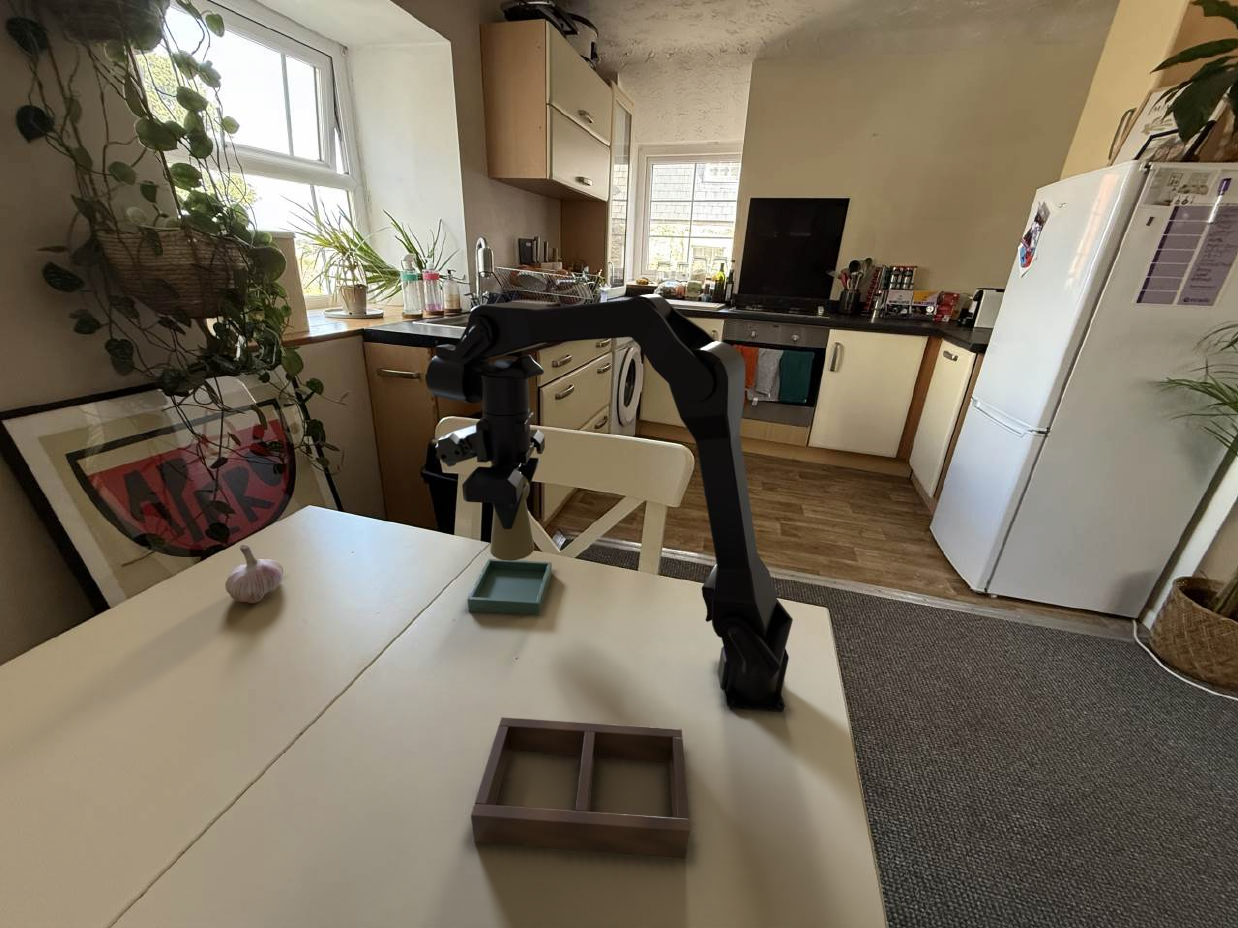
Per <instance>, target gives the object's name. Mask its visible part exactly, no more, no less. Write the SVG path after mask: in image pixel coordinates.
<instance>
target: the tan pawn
mask: <svg viewBox="0 0 1238 928" xmlns="http://www.w3.org/2000/svg"><path fill="white" fill-rule="evenodd" d="M523 484H527V487H526V490H525V493H524V496H523V498H522V501H521V504H520V507H519V510H518V512H517V515H516V518H515V521H514V523H513V526H512V528H511V529H503V527H502V525H501V523H500V520H499V518H498V516H497V513H496V511H495V509H494V508H493V511H492V513H493V515H492V525H491V538H490V554H491V555H492V557H494V558H495V559H500V560H508V561H512V560H518V561H520V560H522V559H526V558H527V557H529V556H530V555H531V554H532V553H534V551H535V543H534V537H533V532H532V526H531V521H530V514H529V510H528V504H527V499H528V497H529V496H530V495H529V494H530V486H531V485H530V486H529V483H528V480H527V479H526V477H525V476H524V475H523Z"/></svg>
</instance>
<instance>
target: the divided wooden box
mask: <svg viewBox="0 0 1238 928" xmlns="http://www.w3.org/2000/svg"><path fill="white" fill-rule="evenodd" d="M683 739H684V738H683V730H682V728H673V727H672V728H671V727H656V726H639V725H625V724H609V723H595V722H577V721H565V720H564V721H563V720H548V719H532V718H518V717H517V718H516V717H502V716H501V717H500V720H499V723H498V727H497V729H496V733H495V736H494V740H493V742H492V746H491V749H490V753H489V756H488V758H487V762H486V765H485V769H484V771H483V775H482V779H481V782H480V784H479V788H478V791H477V795H476V797H475V801H474V805H473V807H472V810H471V814H470V818H471V819H470V820H471V827H472V835H473V842H474V843H479V844H480V843H482V844H496V845H509V846H523V847H535V848H537V847H538V848H550V849H564V850H565V849H566V850H579V851H592V852H607V853H619V854H620V853H623V854H634V855H649V856H660V857H661V856H662V857H677V858H687V855H688V850H689V849H688V848H689V841H690V834H691V825H690V815H689V814H690V813H689V812H690V811H689V801H688V789H687V787H688V786H687V776H686V765H685V752H684V740H683ZM511 752H520V753H521V752H522V753H533V754H534V753H535V754H537V753H538V754H550V755H551V754H552V755H564V756H580V757H581V760H580V769H579V777H578V785H577V795H576V801H575V809H574V810H568V809H567V810H566V809H552V808H539V807H538V808H536V807H523V806H511V805H497V801H498V798H499V794H500V791H501V788H502V787H501V786H502V783H503V779H504V775H505V772H506V768H507V764H508V761H509V757H510V754H511ZM595 758H611V759H625V760H641V761H655V762H669V774H670V775H669V778H670V779H669V780H670V795H671V797H670V799H671V815H672V816H671V817H669V816H668V817H667V816H655V815H653V816H652V815H641V814H640V815H639V814H625V813H624V814H623V813H611V812H610V813H609V812H595V811H590V809H591V796H592V788H593V779H594V778H593V776H594V767H595Z"/></svg>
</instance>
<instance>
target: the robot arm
mask: <svg viewBox="0 0 1238 928" xmlns="http://www.w3.org/2000/svg"><path fill="white" fill-rule="evenodd" d="M622 338H623V339H624V338H631V339H632V340H633V341H634V342H635V343H636V344H637V345H638V347H639V348H640V349H641V351H642V353H643V354H644V356H645V357H646V360H647V361H648V363H649V364H650V365H651V367H652V369H653V370H654V371H655V372H656V373H657V374H658V375H659V376H660V377H661V378H662V379H663V380H664V381H665V382H667V384H668V386H669V389H670V393H671V396H672V398H673V402H674V404H675V407H676V410H677V414H678V416H679V418H680V420H681V422H682V423H683V425H684V426H685V427H686V429H687V431H688V432H689V434H690V436H691V437H692V438H693V440H694V442H695V446H696V452H697V456H698V462H699V468H700V469H699V470H700V474H701V481H702V486H703V492H704V493H703V494H704V498H705V505H706V511H707V516H708V521H709V522H708V523H709V527H710V533H711V534H710V535H711V538H712V545H713V552H714V557H715V564H714V566H713V568H712V569H711V571H710V573H709V574H708V576H707V578H706V580H705V582H704V583H703V585H702V587H701V594H702V598H703V602H704V604H705V607H706V617H705V622H706V623H709V622H711V626H712V629H713V631H714V633H715V634H716V636H717V637H718V638H721V642H722V645H723V646H722V647H721V648H720V654H719V662H718V669H717V676H718V681H719V687H720V690H721V691H723V694H724V700H725V705H726V706H727V707H728V708H729V709H740V710H741V709H742V710H756V711H769V712H770V711H772V712H783V711H784V710H785V708H786V704H785V701H784V698H783V695H782V691H783V687H784V683H785V677H786V673H787V669H788V665H789V661H790V660H789V659H790V656H789V654H788V651H787V648H786V647H787V643H788V639H789V636H790V632H791V629H792V625H793V617H792V616H791V615H790V613H789V612H788V610H787V609H786V608H785V607H784V606H783V604H782V603H781V602H780V600H779V599H778V595H777V591H776V587H775V585H774V582H773V579H772V576H771V574H770V573H771V572H770V570H769V568H768V567H767V566H766V564H765V563H764V562H763V560H762V559H761V557H760V556H759V553H758V550H757V549H758V548H757V541H756V534H755V528H754V522H753V514H752V506H751V499H750V493H749V488H748V481H747V473H746V466H745V460H744V452H743V445H742V438H741V423H742V417H743V416H742V415H743V411H744V404H745V403H744V402H745V395H746V393H745V392H746V370H747V369H746V363H745V359H744V356H743V355H742V353H741V351H739V350H738V349H736V347H734V346H733V345H731V344H729V343H726V342H723V341H717V340H716V339H715V338H714V337H713V336H712V335H710V333H709V332H708V331H706V330H705V329H704V328H702V327H701V326H700V325H699V324H696V323H695V322H693V320H691V319H689V318H688V317H687V316H685V315H683V313H681V312H679V310H677V308H675V307H674V306H673V305H672V304H671V303H669V301H668V300H667V299H666V298H665V297H663V296H662V295H659V294H653V293H651V294H641V295H635V296H633V297H632V296H631V298H627V299H620V300H610V301H601V302H591V303H584V304H573V305H564V306H556V307H553V306H552V307H551V306H545V305H540V304H537V303H529V302H519V301H513V302H512V301H511V302H499V303H488V304H479V305H476V306H474V307H472V308H471V309H470V313H469V316H468V319H467V325H466V327H465V329H464V331H463V332H462V334H461V337H460V338H459V340H458V342H457V344H456V345H454V344H448V343H447V344H441V345H436V346H435V348H434V349H435V356H433V358H432V359H431V360H430V362H429V364H428V366H427V369H426V374H424V377H425V384H426V387H427V389H428V391H429V392H430V393H431V394H432V395H433V396H435V397H438V398H440V399H441V398H442V399H446V400H452V401H457V402H462V403H466V404H471V405H473V404H479V403H480V402H481V411H482V412H481V413H482V417H481V418H480V419H479V420H478V421H477V422H476V423H475V425H471V426H468V427H465V428H462V429H458V430H454V431H452V432H450V433H448V434H446V435H442V436H441V437H439V439H438V440H437V443H436V446H435V450H436V453H435V458H436V459H437V460H439V461H441V462H442V463H443V464H445V465H446V467H454V466H456V465H457V464H458V463H462V462H464V461H469V460H471V459H474V458H476V461H477V463H484V464H486V463H488V462H490V466H477V467H476V468H474V470H473V471H471V473H470V474H469V476H467V478H466V479H465V480H464V482H463V483H462V484H461V486H462V487H461V488H462V489H461V490H462V499H463V500H464V502H466V503H479V504H480V503H481V504H482V503H483V504H492V506H493V510H494V509H495V511H496V513H497V516H498V518H499V520H500V523H501V525H502V527H503V529H511V528H512V526H513V523H514V521H515V518H516V515H517V512H518V510H519V507H520V504H521V501H522V498H523V496H524V493H525V490H526V487H527V484H523V475H524V476H525V477H526V479H527V480H528V483H529V486H531V484H532V482H533V479H534V476H535V474H536V471H537V469H538V465H539V463H540V461H541V460H540V458H538V457H531V456H532V455H533V453H534V451H536V454H537V455H542V454H543V452H544V451H545V448H546V439H545V434H543V433H542V432H541V431H540V430H539V429H531V425H532V423H533V421H534V412H530V390H529V389H530V386H529V384H530V383H529V379H534V378H536V377H539V376H543V375H544V373H545V370H544V369H543V368H542V367H541V366H540V364H539V363H537V362H536V361H535V360H534V359H533V358H532V356H531V355H530V354H526V355H522V356H518V357H517V358H516V359H511V358H506V357H505V358H504V357H503V356H507V355H508V354H509V355H510V354H513V353H518V352H521V351H526V350H529V349H532V348H537V347H540V346H543V345H545V344H550V343H564V342H578V341H592V340H593V341H594V340H607V339H622ZM497 357H502V358H497ZM494 358H497V359H496V360H494V361H493V362H490V359H494Z"/></svg>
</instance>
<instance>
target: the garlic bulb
mask: <svg viewBox="0 0 1238 928" xmlns="http://www.w3.org/2000/svg"><path fill="white" fill-rule="evenodd" d="M239 550H240V552H241V553H242V554H243V556H244V559H245V562H246V563H245V564H240V565H238V566H237V567H236V568H234V569H233V570H231V572H229V574H228V576H227V579H226V581H225V583H224V584H225V587H224V588H225V590H226V592H227V593H228V594H229V596H230V598H231V599H233V600H234V601H236V602H241V603H242V602H246V603H248V604H255V603H256V604H257V603H259V602H260V601H262V600H263V598H264V597H265V595H266V594H267V593H270V592H272V591H274V590H275V589H277V588H278V587H279V586H280V585H281V582H282V580H283V576H284V572H285V569H284V566H283V565H282V563H281V562H279V561H278V560H274V559H262V558H258V559H257V558H256V557H255V555H254V553H253V552H252V550H251V547H250V546H249V545H248V544H245V543H244V544H240V546H239Z"/></svg>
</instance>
